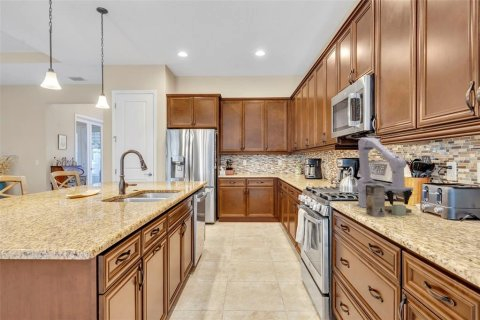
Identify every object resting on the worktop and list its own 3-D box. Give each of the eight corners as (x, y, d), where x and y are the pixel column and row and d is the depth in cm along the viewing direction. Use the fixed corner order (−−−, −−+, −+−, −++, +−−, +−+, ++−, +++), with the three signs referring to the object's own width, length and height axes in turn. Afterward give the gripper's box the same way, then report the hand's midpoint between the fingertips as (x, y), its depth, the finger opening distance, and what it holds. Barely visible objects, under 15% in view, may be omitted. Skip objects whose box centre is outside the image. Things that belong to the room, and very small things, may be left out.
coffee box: (365, 213, 148) (365, 184, 148) (376, 212, 148) (376, 184, 148) (373, 216, 139) (372, 186, 139) (385, 216, 139) (385, 186, 139)
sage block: (391, 213, 146) (391, 204, 146) (401, 213, 146) (400, 204, 146) (396, 215, 141) (396, 206, 141) (406, 215, 141) (406, 206, 141)
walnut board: (379, 208, 160) (379, 206, 160) (399, 208, 159) (399, 205, 159) (389, 212, 148) (389, 209, 148) (411, 212, 147) (411, 209, 147)
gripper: (388, 180, 140) (388, 205, 140) (416, 180, 139) (416, 205, 139) (381, 179, 147) (382, 203, 147) (408, 179, 146) (409, 203, 146)
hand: (398, 204), depth 143 cm, fingers open, 7 cm apart
